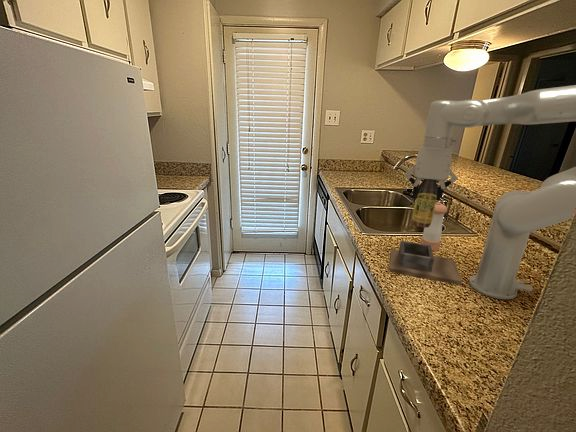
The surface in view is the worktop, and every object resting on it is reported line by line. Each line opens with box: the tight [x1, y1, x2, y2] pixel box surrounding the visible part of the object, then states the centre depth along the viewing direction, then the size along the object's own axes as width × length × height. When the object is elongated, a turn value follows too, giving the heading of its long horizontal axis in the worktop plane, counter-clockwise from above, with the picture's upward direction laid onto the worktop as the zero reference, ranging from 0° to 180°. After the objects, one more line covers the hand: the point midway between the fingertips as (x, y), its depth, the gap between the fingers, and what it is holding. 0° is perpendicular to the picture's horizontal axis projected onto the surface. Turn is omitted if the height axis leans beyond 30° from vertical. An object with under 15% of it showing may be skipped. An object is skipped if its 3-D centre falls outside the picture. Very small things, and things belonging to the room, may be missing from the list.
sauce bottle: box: [411, 179, 439, 228], centre depth 96 cm, size 6×6×20 cm
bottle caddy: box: [388, 240, 463, 286], centre depth 103 cm, size 22×16×6 cm
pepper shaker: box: [419, 201, 448, 251], centre depth 117 cm, size 7×7×19 cm
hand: (426, 198), depth 96 cm, fingers closed on sauce bottle, 6 cm apart
